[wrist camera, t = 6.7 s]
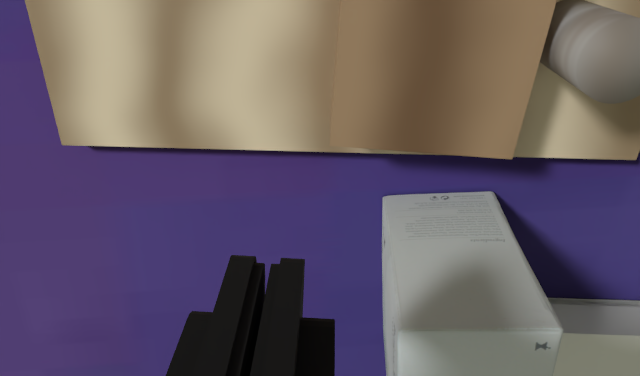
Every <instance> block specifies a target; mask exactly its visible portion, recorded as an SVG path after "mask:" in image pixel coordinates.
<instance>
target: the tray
mask: <svg viewBox="0 0 640 376" xmlns="http://www.w3.org/2000/svg"><path fill="white" fill-rule="evenodd" d="M548 300H549V302H550V304H551V306H552V308H553V310H554V312H555V313H556V315H557V317H558V319H559V321H560V323H561V325H562V327H563V335H562V339H561V343H560V347H559V352H558V356H557V361H556V365H555V369H554V373H553V376H640V301H636V300H605V299H574V298H548Z"/></svg>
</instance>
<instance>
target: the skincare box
mask: <svg viewBox="0 0 640 376" xmlns="http://www.w3.org/2000/svg"><path fill="white" fill-rule="evenodd" d="M382 280H383V332H384V348H385V362H386V374H387V376H553V373H554V369H555V365H556V361H557V356H558V352H559V347H560V343H561V339H562V335H563V327H562V325H561V323H560V321H559V319H558V317H557V315H556V313H555V312H554V310H553V308H552V306H551V304H550V302H549V300H548V298H547V297H546V295H545V293H544V291H543V289H542V287H541V285H540V283H539V282H538V280H537V278H536V276H535V274H534V272H533V271H532V269H531V267H530V265H529V263H528V261H527V259H526V257H525V256H524V254H523V251H522V249H521V248H520V246H519V244H518V242H517V240H516V238H515V236H514V234H513V232H512V230H511V228H510V225H509V223H508V221H507V219H506V216H505V215H504V213H503V211H502V208H501V206H500V204H499V202H498V200H497V197H496V196H495V193H494V192H490V191H489V192H462V193H435V194H409V195H391V196H384V197H383V210H382Z"/></svg>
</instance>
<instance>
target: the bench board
mask: <svg viewBox="0 0 640 376" xmlns="http://www.w3.org/2000/svg"><path fill="white" fill-rule="evenodd" d="M25 3H26V7H27V10H28V14H29V18H30V22H31V26H32V30H33V34H34V38H35V42H36V46H37V49H38V53H39V57H40V61H41V65H42V69H43V73H44V77H45V81H46V85H47V88H48V92H49V96H50V100H51V104H52V108H53V112H54V116H55V120H56V124H57V127H58V131H59V135H60V139H61V143H62V145H76V146H114V147H152V148H191V149H229V150H267V151H305V152H344V153H382V154H420V155H445V154H432V153H418V152H405V151H392V150H378V149H365V148H351V147H338V146H330V120H331V108H332V96H333V84H334V72H335V59H336V47H337V35H338V23H339V11H340V0H25ZM639 151H640V0H557V1H556V5H555V9H554V12H553V16H552V19H551V23H550V26H549V30H548V34H547V37H546V41H545V44H544V48H543V51H542V55H541V58H540V62H539V66H538V69H537V73H536V76H535V80H534V83H533V87H532V91H531V94H530V98H529V101H528V105H527V108H526V112H525V115H524V119H523V123H522V126H521V130H520V133H519V137H518V140H517V144H516V148H515V151H514V155H513V157H535V158H573V159H612V160H636V159H637V156H638V153H639Z"/></svg>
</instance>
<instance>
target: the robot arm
mask: <svg viewBox="0 0 640 376" xmlns="http://www.w3.org/2000/svg"><path fill="white" fill-rule="evenodd" d="M304 266H305V259H291V258H281V261H280V264H271V268H270V273H269V278H268V283H267V289H266V294H265V264H264V263H257V262H256V257H255V256H238V255H232V256H231V258H230V260H229V263H228V267H227V270H226V273H225V276H224V279H223V282H222V285H221V289H220V292H219V295H218V298H217V301H216V304H215V308H214V311H213V312H197V311H192V312H191V313H190V314H189V316H188V318H187V321H186V324H185V326H184V329H183V332H182V334H181V337H180V339H179V342H178V345H177V347H176V350H175V353H174V355H173V358H172V361H171V363H170V366H169V369H168V371H167V374H166V376H334V368H335V321H334V319H319V318H302V314H303V290H304Z"/></svg>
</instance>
